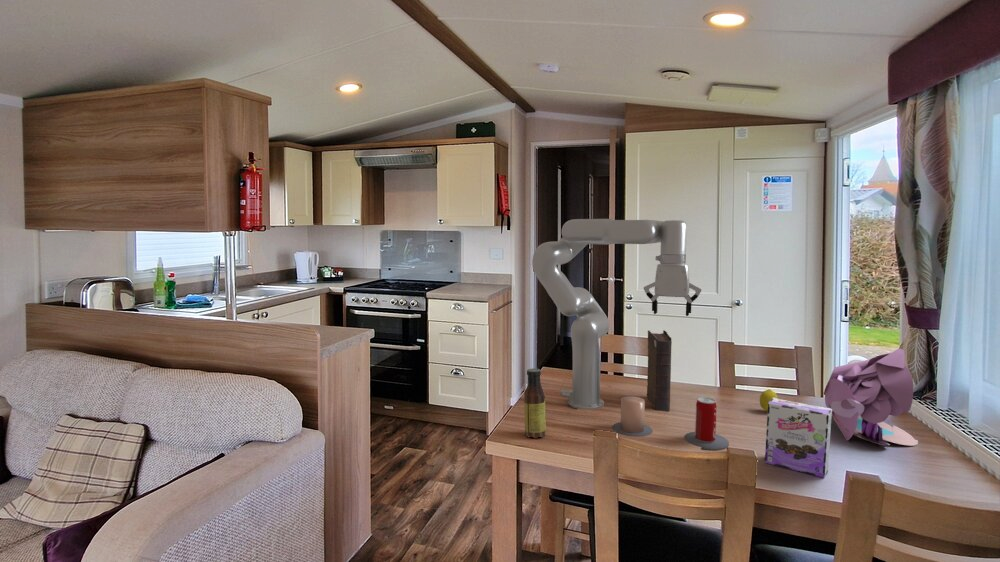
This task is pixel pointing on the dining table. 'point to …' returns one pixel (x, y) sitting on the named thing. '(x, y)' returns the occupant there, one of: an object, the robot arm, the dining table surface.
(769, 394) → the lemon
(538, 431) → the sauce bottle
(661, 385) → the book
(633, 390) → the dining table surface
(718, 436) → the right coaster
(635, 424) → the beige rounded cylinder
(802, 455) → the candy box
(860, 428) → the flower arrangement
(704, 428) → the soda can
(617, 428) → the left coaster
